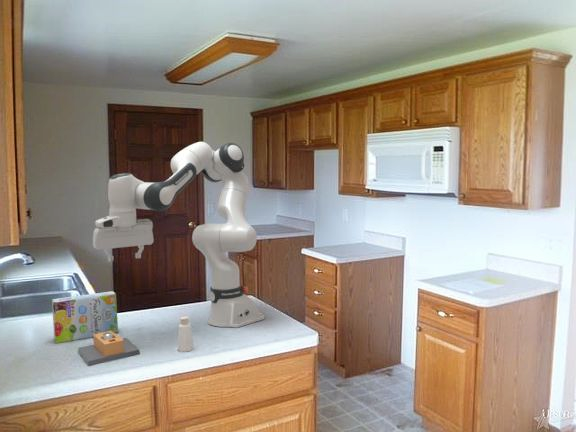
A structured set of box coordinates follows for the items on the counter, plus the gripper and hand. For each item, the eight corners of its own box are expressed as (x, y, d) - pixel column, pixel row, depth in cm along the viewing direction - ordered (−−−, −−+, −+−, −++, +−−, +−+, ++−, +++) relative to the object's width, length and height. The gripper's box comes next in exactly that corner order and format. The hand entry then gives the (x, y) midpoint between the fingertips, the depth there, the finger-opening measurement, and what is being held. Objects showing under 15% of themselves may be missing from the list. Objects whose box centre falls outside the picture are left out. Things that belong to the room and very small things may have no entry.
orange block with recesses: (93, 346, 164) (93, 334, 164) (111, 341, 168) (111, 330, 167) (105, 356, 155) (104, 344, 154) (124, 352, 158) (123, 340, 158)
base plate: (126, 341, 172) (126, 337, 172) (139, 354, 161) (139, 349, 160) (78, 352, 163) (78, 347, 163) (88, 365, 151) (88, 361, 151)
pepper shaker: (194, 345, 167) (193, 314, 166) (193, 351, 162) (192, 319, 161) (177, 346, 167) (176, 315, 166) (176, 352, 161) (175, 320, 160)
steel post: (112, 350, 164) (111, 331, 163) (114, 353, 161) (113, 334, 161) (102, 352, 162) (101, 333, 161) (105, 355, 160) (104, 336, 159)
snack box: (115, 329, 186) (113, 290, 185) (118, 333, 181) (116, 293, 180) (54, 339, 176) (51, 298, 174) (55, 344, 171) (52, 301, 169)
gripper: (149, 217, 178) (150, 255, 179) (90, 221, 166) (92, 261, 167) (155, 218, 172) (156, 257, 174) (94, 223, 161) (97, 264, 162)
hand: (124, 259), depth 170 cm, fingers open, 8 cm apart
